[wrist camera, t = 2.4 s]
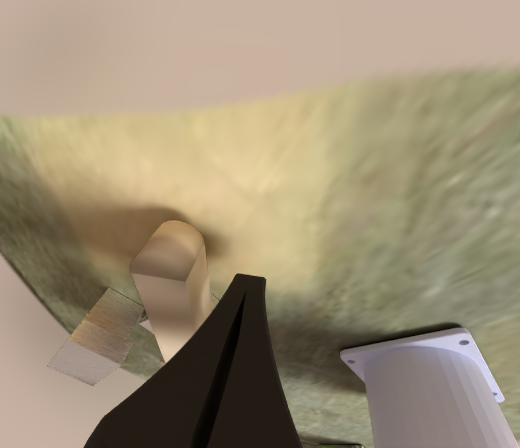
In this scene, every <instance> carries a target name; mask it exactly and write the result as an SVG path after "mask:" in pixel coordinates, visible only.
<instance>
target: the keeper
mask: <svg viewBox="0 0 520 448" xmlns="http://www.w3.org/2000/svg"><path fill="white" fill-rule="evenodd" d="M144 309H145V308H144V307H143V306H141V305H139V304H137V303H135V302H134V301H132V300H130V299H128V298H127V297H125V296H123V295H121V294H120V293H118V292H116V291H114V290H112V289H111V288H108V289H107V290H106V292H105V293H104V294H103V295H102V297H101V298H100V299H99V301H98V302H97V303H96V304H95V306H94V307H93V308H92V309H91V311H90V312H89V313H88V314H87V316H86V317H85V318H84V319H83V321H82V322H81V323H80V324H79V326H78V327H77V328H76V329H75V331H74V332H73V333H72V335H71V336H70V337H69V338H68V340H67V341H66V342H65V343H64V345H63V346H62V347H61V349H60V350H59V351H58V353H57V354H56V355H55V356H54V357H53V359H52V360H51V361H50V363H49V364H48V365H47V366H48V367H50V368H53V369H55V370H57V371H59V372H62V373H64V374H66V375H69V376H71V377H73V378H75V379H78V380H80V381H82V382H85V383H87V384H89V385H92V386H93V385H95V384H96V383H97V382H99V381H100V380H101V379H103V378H104V377H106V376H107V375H109V374H110V373H111V372H113V371H114V370H116V369H117V368H119V367H120V366H121V365H122V364H123V362H124V360H125V358H126V357H127V355H128V353H129V351H130V350H131V348H132V346H133V343H131V342H129V341H127V340H126V339H127V337H128V335H129V334H130V332H131V330H132V329H133V327H134V325H135V324H136V322H137V320H138V319H139V317H140V315H141V314H142V312H143V311H144Z"/></svg>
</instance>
